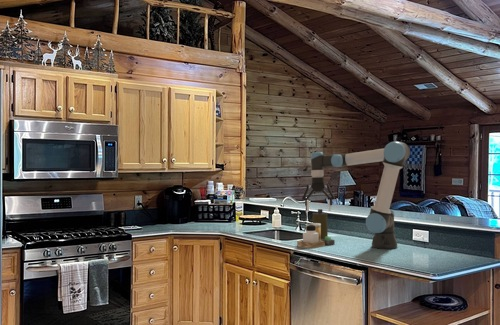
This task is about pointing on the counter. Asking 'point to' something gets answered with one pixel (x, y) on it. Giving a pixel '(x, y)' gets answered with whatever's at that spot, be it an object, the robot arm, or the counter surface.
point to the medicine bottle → (310, 234)
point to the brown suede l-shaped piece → (316, 244)
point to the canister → (321, 222)
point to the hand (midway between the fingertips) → (318, 210)
